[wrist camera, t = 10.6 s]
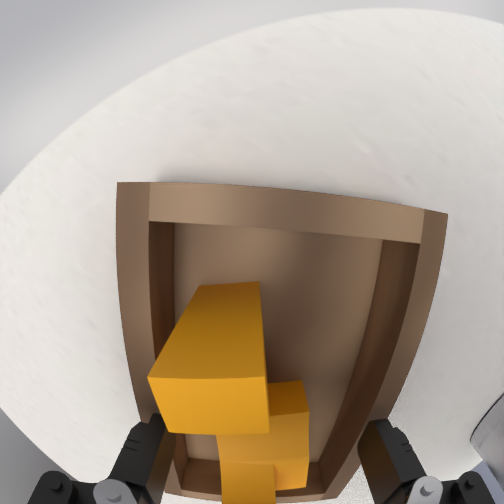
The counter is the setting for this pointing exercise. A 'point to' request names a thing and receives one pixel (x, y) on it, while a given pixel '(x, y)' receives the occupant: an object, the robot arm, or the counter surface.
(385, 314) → the wooden tray
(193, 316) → the pipe clamp
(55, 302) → the counter surface
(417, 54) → the counter surface
